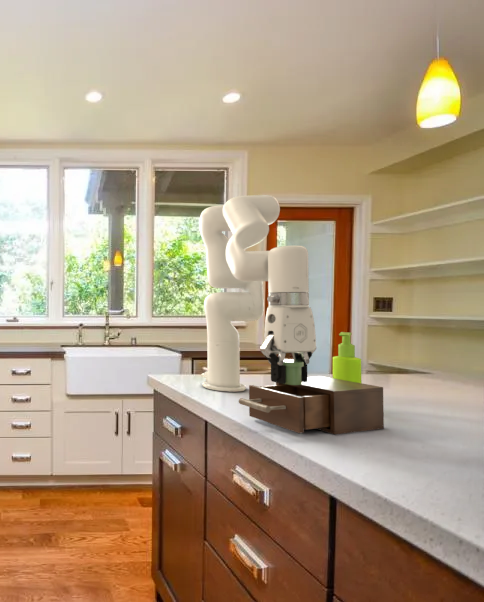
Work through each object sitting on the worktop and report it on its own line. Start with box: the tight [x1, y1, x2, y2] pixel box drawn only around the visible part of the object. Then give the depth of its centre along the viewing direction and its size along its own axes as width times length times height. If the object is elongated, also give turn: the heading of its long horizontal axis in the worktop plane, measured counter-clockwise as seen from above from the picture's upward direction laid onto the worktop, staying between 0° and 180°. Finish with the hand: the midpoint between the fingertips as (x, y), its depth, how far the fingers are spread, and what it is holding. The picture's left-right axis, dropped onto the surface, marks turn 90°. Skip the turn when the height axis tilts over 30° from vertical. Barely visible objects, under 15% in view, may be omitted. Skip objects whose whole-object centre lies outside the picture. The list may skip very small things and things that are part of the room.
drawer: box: [238, 384, 331, 434], centre depth 82 cm, size 19×12×7 cm, turn 105°
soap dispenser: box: [331, 331, 362, 383], centre depth 98 cm, size 6×7×20 cm
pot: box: [283, 358, 304, 385], centre depth 83 cm, size 5×5×5 cm
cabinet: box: [275, 375, 385, 436], centre depth 86 cm, size 15×14×9 cm
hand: (289, 380), depth 83 cm, fingers closed on pot, 5 cm apart
